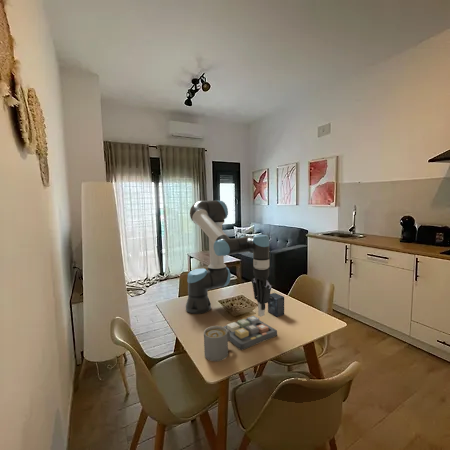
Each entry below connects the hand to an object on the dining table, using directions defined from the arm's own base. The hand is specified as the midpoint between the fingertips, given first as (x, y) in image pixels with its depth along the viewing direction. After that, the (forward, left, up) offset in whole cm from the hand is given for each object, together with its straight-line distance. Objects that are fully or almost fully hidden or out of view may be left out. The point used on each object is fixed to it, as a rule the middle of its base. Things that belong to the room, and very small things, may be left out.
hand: (261, 315), depth 125 cm
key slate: (-7, 0, -6) cm, 9 cm away
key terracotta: (0, 0, -8) cm, 8 cm away
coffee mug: (+2, -25, -9) cm, 27 cm away
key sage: (-7, -6, -6) cm, 11 cm away
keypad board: (-3, -6, -9) cm, 11 cm away
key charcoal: (0, -6, -6) cm, 9 cm away
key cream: (-7, -12, -6) cm, 15 cm away
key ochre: (0, -12, -6) cm, 13 cm away
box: (-12, +21, -9) cm, 26 cm away
